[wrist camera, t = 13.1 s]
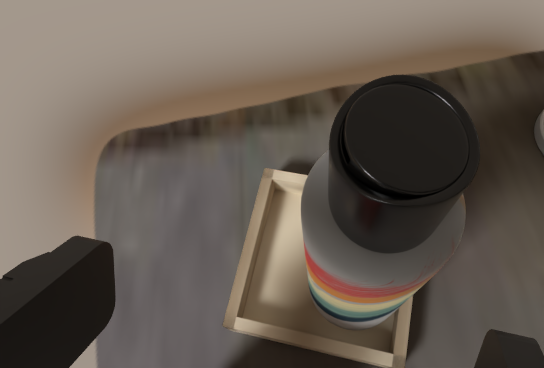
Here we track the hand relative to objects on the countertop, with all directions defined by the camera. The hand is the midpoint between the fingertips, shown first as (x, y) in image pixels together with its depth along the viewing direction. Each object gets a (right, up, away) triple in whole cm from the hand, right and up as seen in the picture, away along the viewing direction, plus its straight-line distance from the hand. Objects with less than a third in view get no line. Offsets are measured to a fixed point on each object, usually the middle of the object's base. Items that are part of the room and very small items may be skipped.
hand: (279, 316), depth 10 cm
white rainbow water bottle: (+5, -4, +20) cm, 21 cm away
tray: (+4, -3, +21) cm, 21 cm away
